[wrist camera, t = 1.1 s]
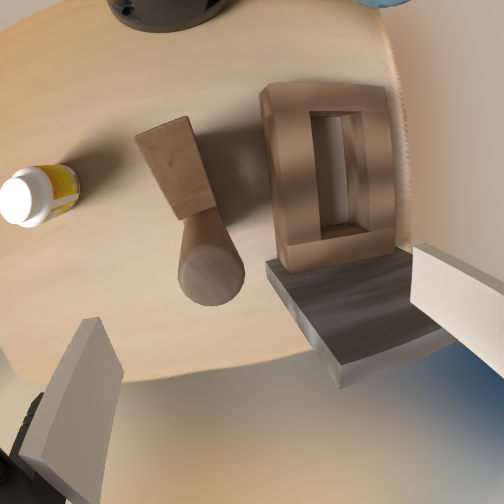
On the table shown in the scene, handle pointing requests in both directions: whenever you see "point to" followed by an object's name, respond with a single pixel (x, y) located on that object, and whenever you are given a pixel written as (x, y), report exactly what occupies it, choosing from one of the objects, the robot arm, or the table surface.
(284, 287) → the post block
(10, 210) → the supplement bottle
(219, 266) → the wooden block
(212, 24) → the table surface
